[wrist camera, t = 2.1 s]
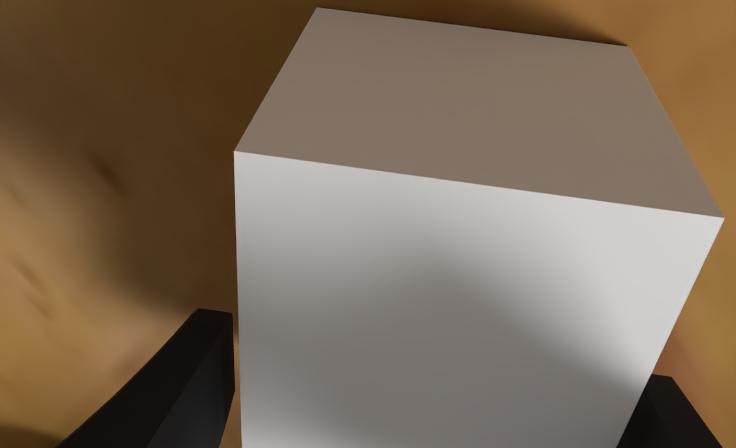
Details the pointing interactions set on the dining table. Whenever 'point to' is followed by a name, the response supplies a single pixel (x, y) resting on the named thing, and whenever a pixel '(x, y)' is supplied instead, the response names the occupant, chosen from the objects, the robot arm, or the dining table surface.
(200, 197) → the dining table surface
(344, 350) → the white cardboard carton
